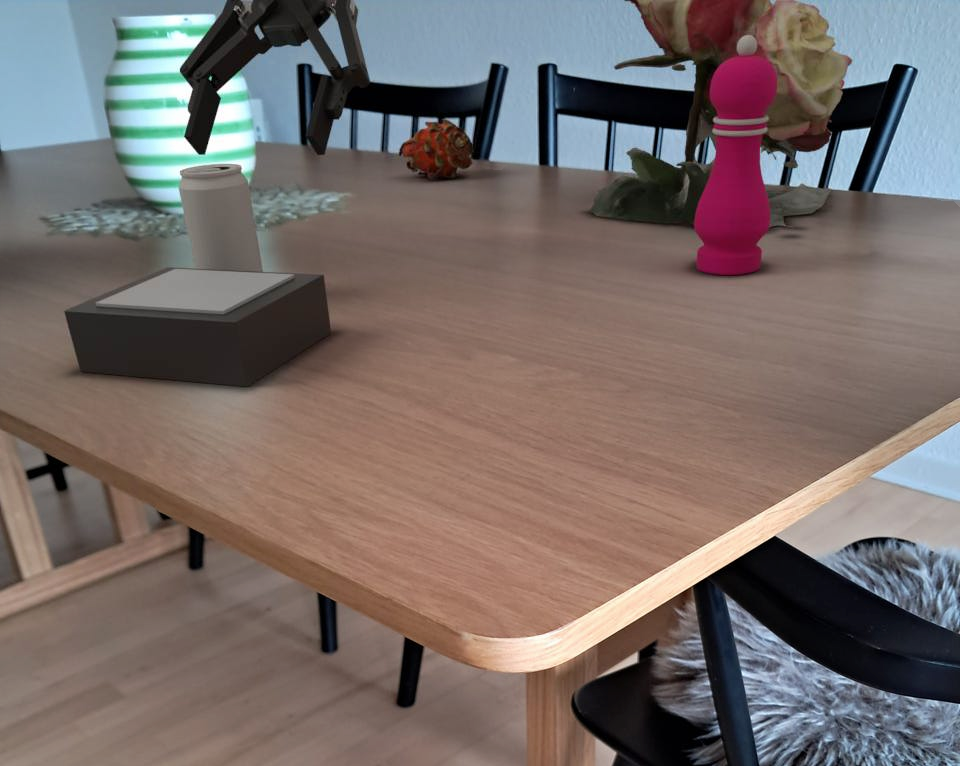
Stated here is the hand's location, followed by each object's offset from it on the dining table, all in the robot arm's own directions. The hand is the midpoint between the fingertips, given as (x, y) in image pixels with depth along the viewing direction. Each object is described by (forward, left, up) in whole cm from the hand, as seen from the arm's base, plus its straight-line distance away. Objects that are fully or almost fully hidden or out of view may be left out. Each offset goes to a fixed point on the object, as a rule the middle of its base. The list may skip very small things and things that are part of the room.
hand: (253, 146), depth 99 cm
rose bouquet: (+40, +42, -13) cm, 60 cm away
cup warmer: (+7, -23, -13) cm, 27 cm away
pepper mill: (+45, +12, -13) cm, 48 cm away
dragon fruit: (-6, +59, -13) cm, 61 cm away
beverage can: (0, -8, -13) cm, 15 cm away
